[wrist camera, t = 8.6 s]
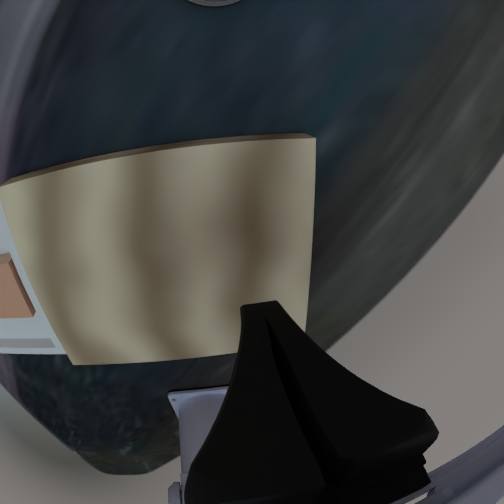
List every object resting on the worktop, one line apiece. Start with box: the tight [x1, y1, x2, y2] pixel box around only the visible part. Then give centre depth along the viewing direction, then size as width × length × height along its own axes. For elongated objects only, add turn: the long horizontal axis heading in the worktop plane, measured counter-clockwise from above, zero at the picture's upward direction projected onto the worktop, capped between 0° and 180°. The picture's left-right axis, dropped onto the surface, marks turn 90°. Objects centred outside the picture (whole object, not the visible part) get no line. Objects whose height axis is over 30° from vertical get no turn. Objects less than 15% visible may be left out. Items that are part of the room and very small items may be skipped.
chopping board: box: [0, 133, 316, 365], centre depth 20 cm, size 20×16×2 cm
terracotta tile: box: [0, 253, 36, 319], centre depth 18 cm, size 5×5×2 cm
